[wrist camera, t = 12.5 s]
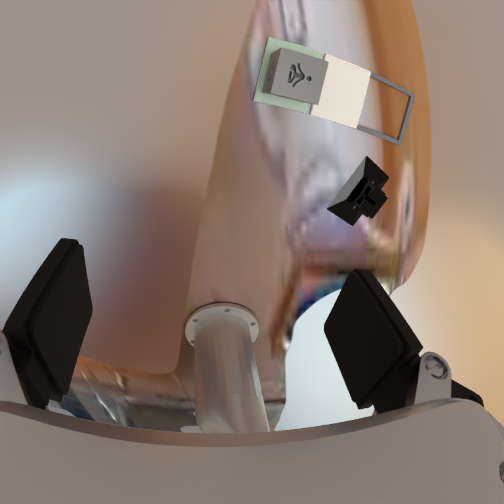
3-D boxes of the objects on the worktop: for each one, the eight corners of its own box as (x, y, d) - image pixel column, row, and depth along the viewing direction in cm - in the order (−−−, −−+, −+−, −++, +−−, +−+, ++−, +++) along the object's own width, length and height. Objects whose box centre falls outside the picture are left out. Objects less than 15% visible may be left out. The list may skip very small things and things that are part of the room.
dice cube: (271, 53, 26) (281, 47, 22) (312, 64, 27) (328, 61, 23) (261, 92, 28) (270, 92, 24) (303, 102, 29) (318, 105, 25)
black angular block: (367, 142, 34) (384, 150, 30) (397, 172, 37) (415, 182, 33) (315, 212, 39) (327, 227, 35) (349, 235, 42) (362, 251, 38)
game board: (399, 145, 34) (401, 146, 34) (252, 100, 29) (253, 100, 29) (413, 94, 30) (415, 94, 29) (268, 37, 25) (269, 37, 25)
